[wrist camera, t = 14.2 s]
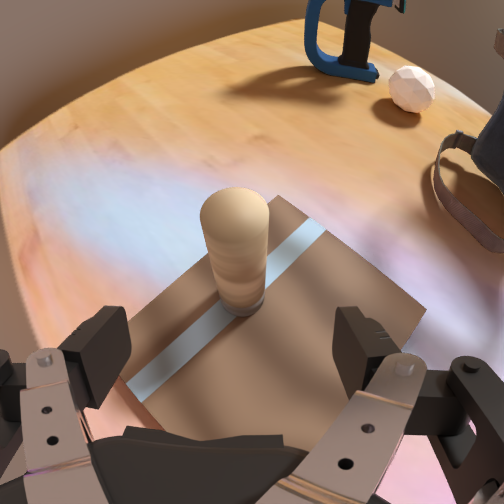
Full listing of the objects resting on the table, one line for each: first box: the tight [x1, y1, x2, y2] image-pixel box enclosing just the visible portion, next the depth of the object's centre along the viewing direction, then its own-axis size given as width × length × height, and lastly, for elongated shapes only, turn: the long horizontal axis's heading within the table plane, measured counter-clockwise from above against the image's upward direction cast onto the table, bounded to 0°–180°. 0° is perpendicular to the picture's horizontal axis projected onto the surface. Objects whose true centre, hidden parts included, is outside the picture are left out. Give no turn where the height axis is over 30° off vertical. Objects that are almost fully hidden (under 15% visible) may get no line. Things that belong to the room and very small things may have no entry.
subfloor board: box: [119, 195, 427, 452], centre depth 25 cm, size 22×18×2 cm
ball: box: [389, 66, 435, 113], centre depth 40 cm, size 8×8×8 cm
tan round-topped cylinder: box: [200, 187, 269, 317], centre depth 21 cm, size 4×4×11 cm
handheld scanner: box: [304, 0, 406, 83], centre depth 40 cm, size 4×16×19 cm, turn 82°
